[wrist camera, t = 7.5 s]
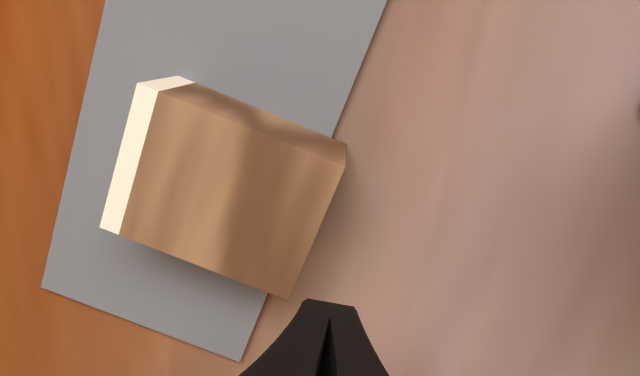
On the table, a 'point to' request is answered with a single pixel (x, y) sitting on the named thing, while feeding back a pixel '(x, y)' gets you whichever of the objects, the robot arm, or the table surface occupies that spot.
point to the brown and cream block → (221, 183)
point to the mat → (217, 74)
